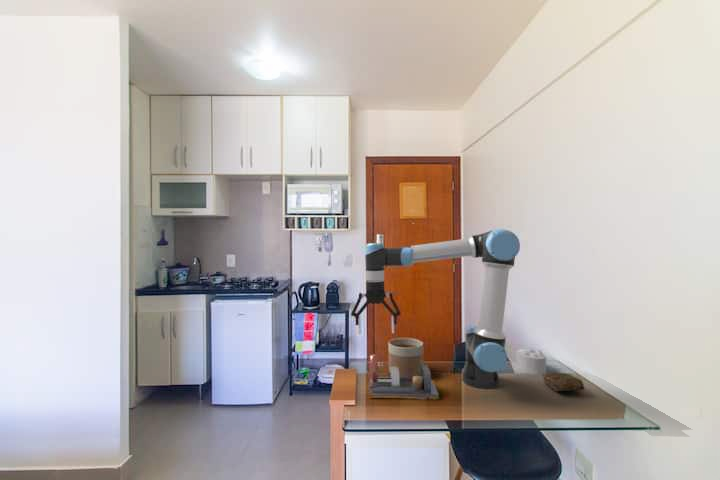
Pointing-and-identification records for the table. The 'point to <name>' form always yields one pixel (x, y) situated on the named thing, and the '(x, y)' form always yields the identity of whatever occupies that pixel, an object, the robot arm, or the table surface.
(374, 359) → the press handle
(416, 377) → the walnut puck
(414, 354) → the planter
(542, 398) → the table surface
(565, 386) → the stone
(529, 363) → the lumpy-topped squat cylinder
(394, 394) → the press bed
